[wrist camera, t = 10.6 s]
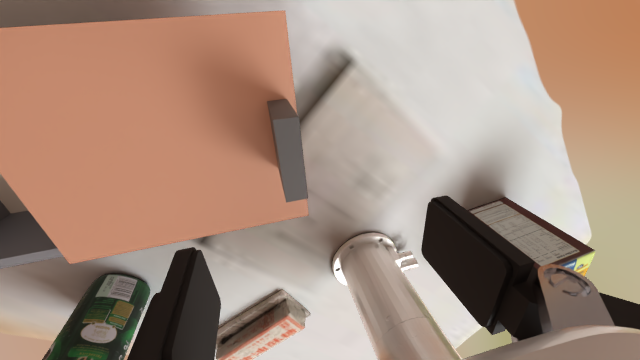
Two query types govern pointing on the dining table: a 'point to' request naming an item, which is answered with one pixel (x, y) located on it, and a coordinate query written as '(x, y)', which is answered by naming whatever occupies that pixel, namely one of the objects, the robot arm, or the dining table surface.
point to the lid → (151, 129)
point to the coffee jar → (102, 320)
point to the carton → (21, 232)
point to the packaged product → (261, 328)
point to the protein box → (535, 236)
